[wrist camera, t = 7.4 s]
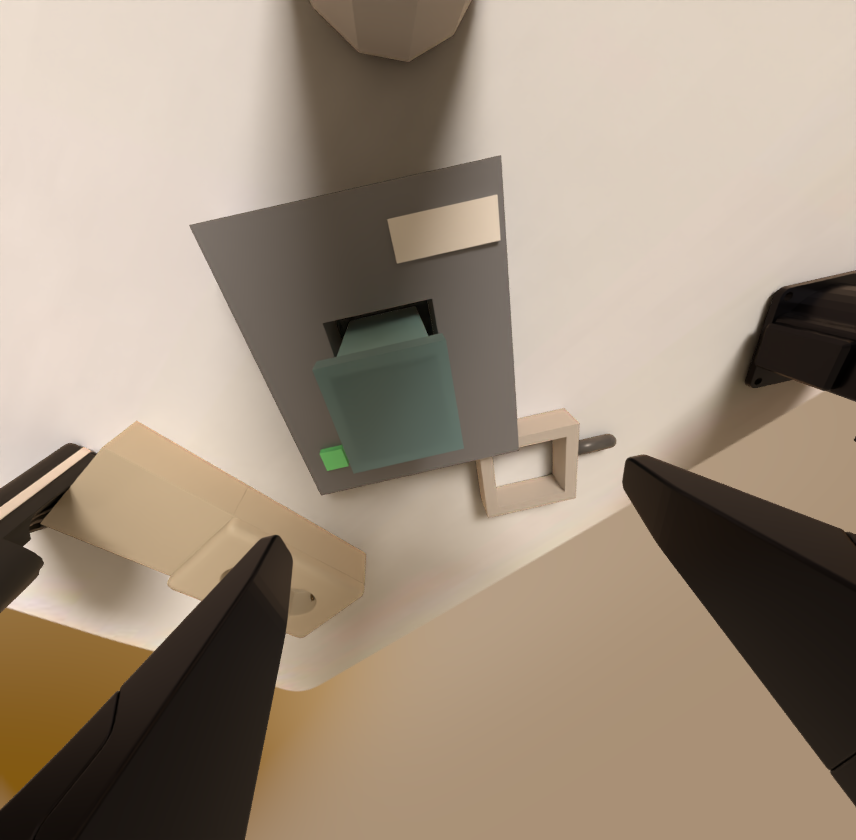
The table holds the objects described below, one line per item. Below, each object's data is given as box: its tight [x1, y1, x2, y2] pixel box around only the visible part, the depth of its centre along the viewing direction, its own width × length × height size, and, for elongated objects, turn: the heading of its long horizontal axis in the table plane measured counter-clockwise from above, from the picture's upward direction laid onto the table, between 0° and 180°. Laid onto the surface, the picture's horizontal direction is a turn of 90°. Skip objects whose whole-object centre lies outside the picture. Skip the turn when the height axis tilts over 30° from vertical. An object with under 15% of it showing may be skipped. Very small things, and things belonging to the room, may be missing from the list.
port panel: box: [189, 155, 519, 495], centre depth 17 cm, size 12×14×3 cm
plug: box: [312, 306, 464, 474], centre depth 15 cm, size 4×4×8 cm
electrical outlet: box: [40, 421, 366, 638], centre depth 23 cm, size 7×4×18 cm
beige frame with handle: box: [475, 408, 616, 518], centre depth 23 cm, size 10×6×2 cm, turn 101°
